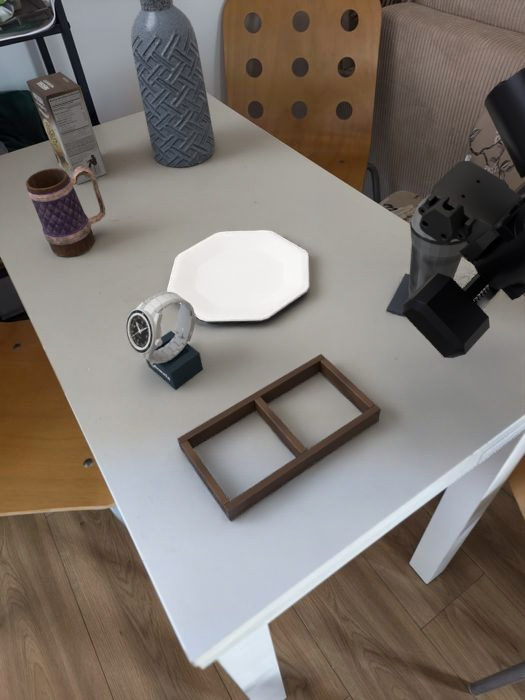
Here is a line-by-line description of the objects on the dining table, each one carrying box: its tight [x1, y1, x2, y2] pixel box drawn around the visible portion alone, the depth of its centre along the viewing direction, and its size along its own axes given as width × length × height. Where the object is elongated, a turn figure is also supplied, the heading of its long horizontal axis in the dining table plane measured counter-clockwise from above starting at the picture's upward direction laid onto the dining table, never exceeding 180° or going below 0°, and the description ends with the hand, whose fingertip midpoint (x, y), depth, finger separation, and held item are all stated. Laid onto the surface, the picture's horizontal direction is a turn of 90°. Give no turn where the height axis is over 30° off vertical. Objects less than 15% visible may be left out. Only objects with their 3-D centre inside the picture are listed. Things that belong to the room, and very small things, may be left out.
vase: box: [130, 0, 216, 168], centre depth 91 cm, size 12×12×28 cm
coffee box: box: [25, 71, 107, 185], centre depth 93 cm, size 9×6×16 cm
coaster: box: [385, 273, 464, 318], centre depth 69 cm, size 8×8×1 cm
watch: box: [125, 291, 204, 391], centre depth 60 cm, size 6×8×11 cm
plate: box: [166, 229, 310, 324], centre depth 74 cm, size 20×20×2 cm
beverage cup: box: [408, 154, 472, 298], centre depth 61 cm, size 7×7×20 cm
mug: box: [25, 165, 106, 258], centre depth 79 cm, size 10×7×12 cm
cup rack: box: [177, 353, 382, 522], centre depth 55 cm, size 10×19×2 cm, turn 125°
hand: (445, 290), depth 53 cm, fingers open, 9 cm apart
